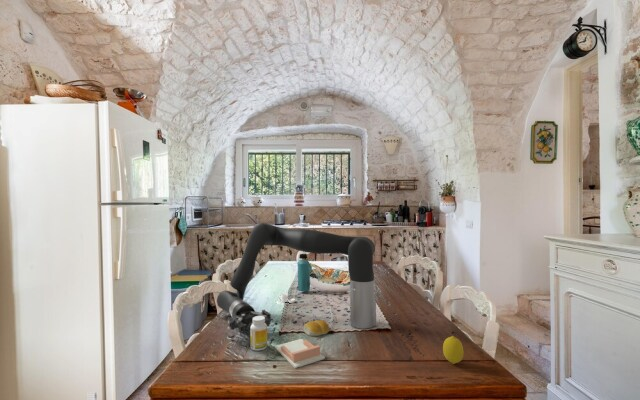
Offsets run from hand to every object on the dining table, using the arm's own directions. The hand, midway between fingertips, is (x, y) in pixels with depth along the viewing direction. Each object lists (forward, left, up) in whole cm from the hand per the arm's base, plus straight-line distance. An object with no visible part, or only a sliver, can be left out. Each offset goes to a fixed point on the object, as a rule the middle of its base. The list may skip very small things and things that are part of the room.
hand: (256, 326), depth 106 cm
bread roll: (-21, -7, -6) cm, 23 cm away
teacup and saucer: (-10, -39, -7) cm, 41 cm away
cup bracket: (-14, +8, -6) cm, 17 cm away
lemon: (-58, +20, -6) cm, 62 cm away
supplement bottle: (-1, +2, -6) cm, 7 cm away
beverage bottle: (-19, -57, -6) cm, 60 cm away
